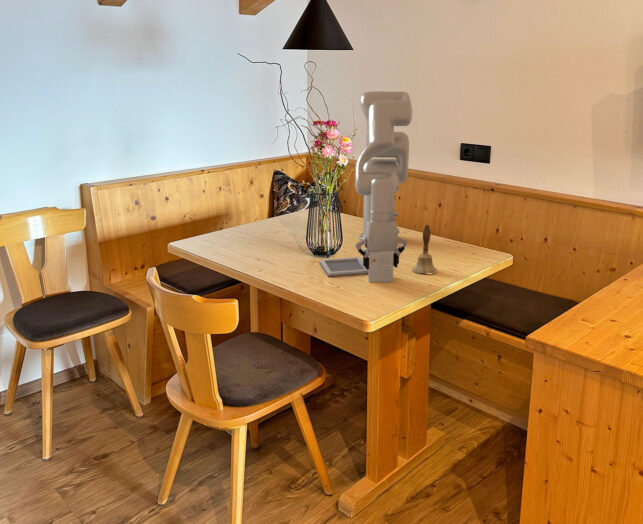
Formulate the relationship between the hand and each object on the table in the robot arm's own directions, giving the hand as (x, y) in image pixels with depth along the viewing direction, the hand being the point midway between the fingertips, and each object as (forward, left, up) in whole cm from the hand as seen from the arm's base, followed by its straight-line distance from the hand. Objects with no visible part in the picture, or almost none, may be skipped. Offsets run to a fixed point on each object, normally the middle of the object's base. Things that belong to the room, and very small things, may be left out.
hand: (380, 267), depth 209 cm
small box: (0, 0, -5) cm, 5 cm away
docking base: (+9, -13, -4) cm, 17 cm away
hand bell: (-17, -5, -5) cm, 19 cm away
